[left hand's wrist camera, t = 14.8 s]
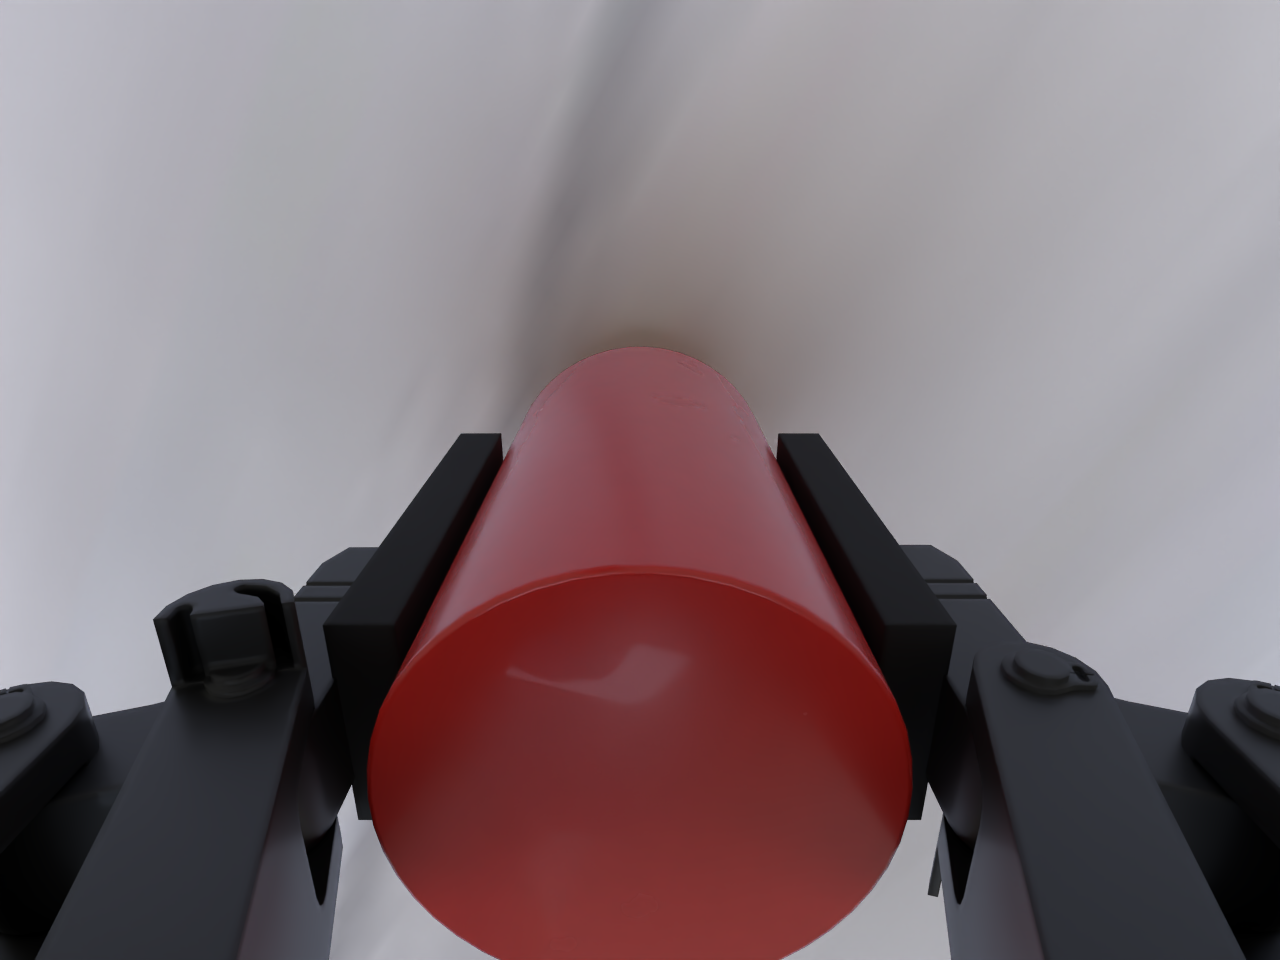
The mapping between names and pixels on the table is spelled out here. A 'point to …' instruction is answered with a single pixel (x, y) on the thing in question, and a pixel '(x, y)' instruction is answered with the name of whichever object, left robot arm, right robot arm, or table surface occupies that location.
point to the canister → (639, 695)
